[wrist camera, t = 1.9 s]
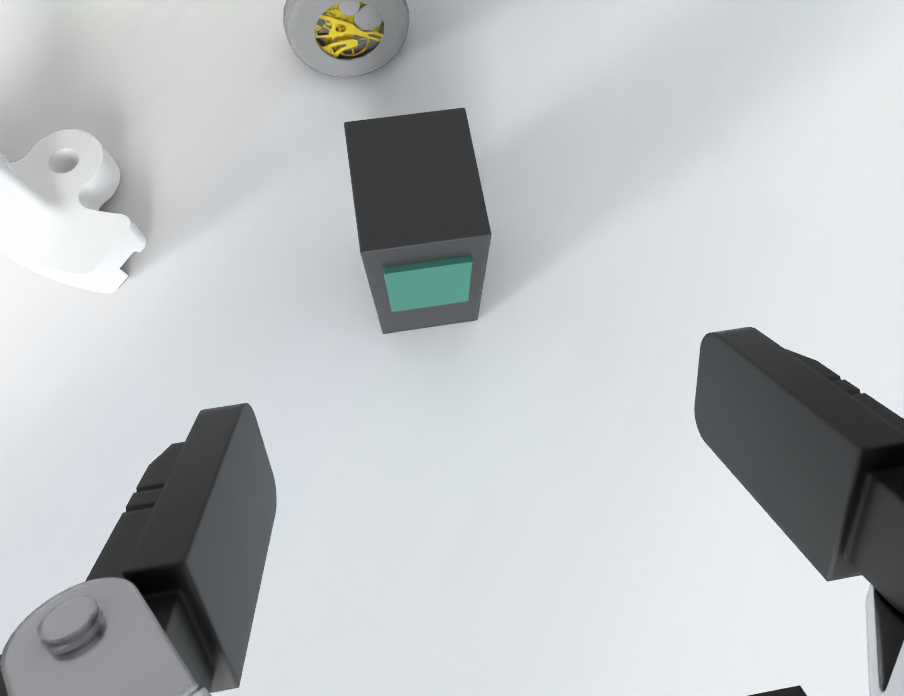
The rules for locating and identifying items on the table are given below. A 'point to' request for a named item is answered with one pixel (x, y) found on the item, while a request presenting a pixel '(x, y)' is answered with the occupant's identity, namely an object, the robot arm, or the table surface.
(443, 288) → the dark grey rectangular block
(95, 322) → the table surface
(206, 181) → the table surface
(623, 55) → the table surface
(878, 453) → the robot arm
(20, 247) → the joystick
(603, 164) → the table surface
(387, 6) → the pocket watch
